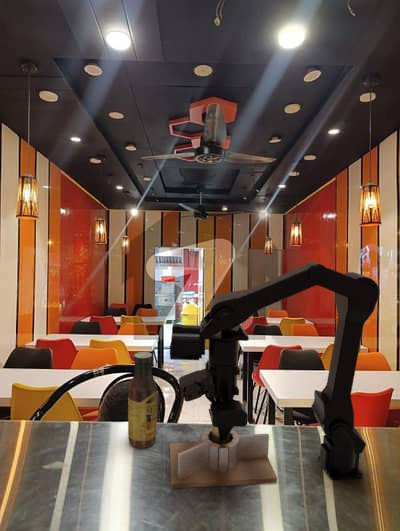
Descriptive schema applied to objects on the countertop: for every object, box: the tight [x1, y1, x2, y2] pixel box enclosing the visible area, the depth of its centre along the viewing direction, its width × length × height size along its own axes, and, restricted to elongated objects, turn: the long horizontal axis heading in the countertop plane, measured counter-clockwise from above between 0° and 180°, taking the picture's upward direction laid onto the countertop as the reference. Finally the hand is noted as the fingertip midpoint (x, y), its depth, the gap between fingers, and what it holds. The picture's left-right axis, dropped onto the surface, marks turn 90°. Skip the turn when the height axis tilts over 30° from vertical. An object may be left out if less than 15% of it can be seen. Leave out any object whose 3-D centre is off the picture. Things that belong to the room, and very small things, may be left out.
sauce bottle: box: [127, 351, 158, 449], centre depth 80 cm, size 7×6×20 cm
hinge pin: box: [209, 402, 229, 445], centre depth 72 cm, size 5×5×8 cm
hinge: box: [178, 426, 270, 480], centre depth 72 cm, size 19×9×5 cm, turn 96°
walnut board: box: [169, 441, 278, 490], centre depth 74 cm, size 20×12×1 cm, turn 96°
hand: (220, 434), depth 73 cm, fingers closed on hinge pin, 4 cm apart
